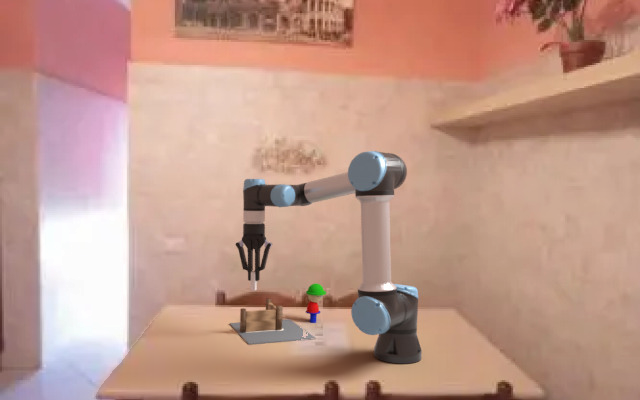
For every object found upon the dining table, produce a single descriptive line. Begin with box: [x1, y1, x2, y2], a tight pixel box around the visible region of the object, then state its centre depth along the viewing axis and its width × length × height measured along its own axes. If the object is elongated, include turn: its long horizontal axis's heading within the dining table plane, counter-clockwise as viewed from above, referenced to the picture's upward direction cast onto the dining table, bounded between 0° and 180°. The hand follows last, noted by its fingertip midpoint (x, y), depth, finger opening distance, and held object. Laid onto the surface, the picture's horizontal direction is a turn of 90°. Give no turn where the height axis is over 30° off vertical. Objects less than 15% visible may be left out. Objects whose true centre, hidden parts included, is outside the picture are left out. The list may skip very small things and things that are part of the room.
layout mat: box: [229, 318, 316, 346], centre depth 209 cm, size 28×24×1 cm
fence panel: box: [239, 307, 276, 332], centre depth 207 cm, size 13×2×8 cm, turn 112°
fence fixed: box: [265, 298, 284, 330], centre depth 216 cm, size 16×2×9 cm, turn 22°
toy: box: [305, 283, 327, 324], centre depth 225 cm, size 8×8×15 cm
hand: (253, 289), depth 200 cm, fingers closed
